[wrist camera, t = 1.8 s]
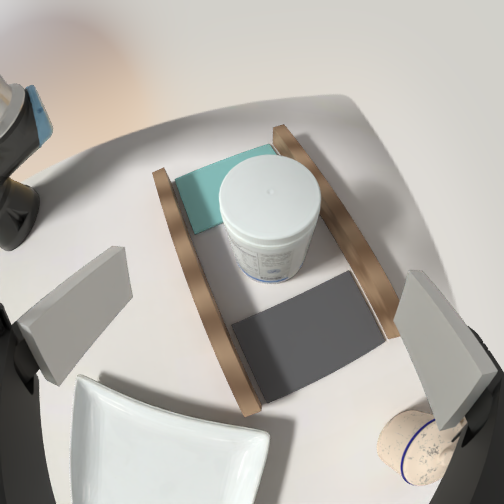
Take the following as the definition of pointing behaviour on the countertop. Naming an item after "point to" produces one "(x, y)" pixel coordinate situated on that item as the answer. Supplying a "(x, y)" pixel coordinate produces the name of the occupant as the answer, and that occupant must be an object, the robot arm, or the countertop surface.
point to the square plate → (157, 453)
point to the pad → (210, 189)
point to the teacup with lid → (417, 447)
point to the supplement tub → (270, 215)
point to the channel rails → (340, 228)
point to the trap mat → (308, 336)
